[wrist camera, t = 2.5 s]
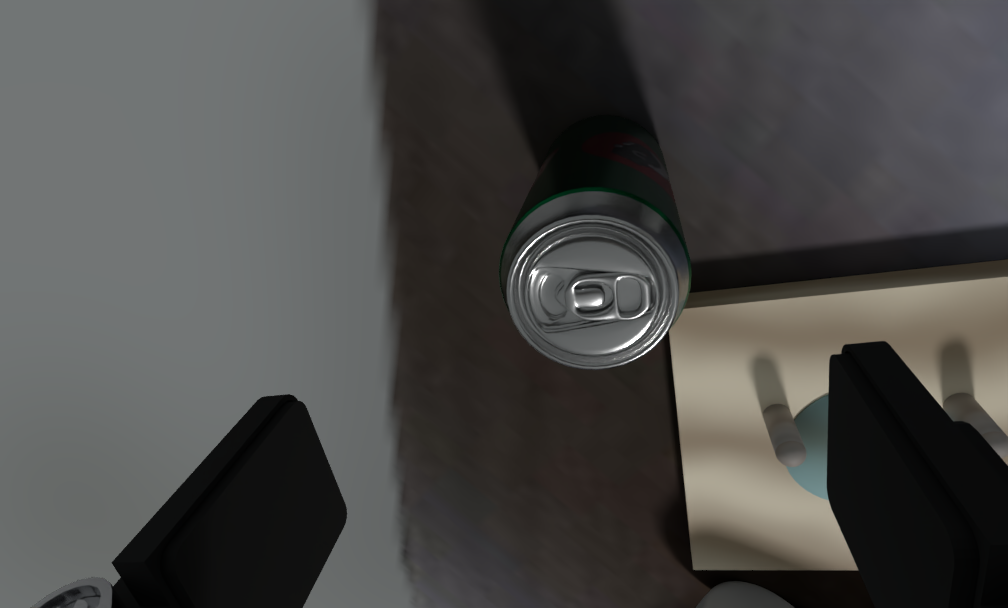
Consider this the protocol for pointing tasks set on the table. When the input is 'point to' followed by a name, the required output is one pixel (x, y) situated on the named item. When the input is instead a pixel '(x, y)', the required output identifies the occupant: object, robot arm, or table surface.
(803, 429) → the pin board
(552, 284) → the soda can
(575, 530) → the table surface
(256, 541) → the robot arm
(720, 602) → the game controller
